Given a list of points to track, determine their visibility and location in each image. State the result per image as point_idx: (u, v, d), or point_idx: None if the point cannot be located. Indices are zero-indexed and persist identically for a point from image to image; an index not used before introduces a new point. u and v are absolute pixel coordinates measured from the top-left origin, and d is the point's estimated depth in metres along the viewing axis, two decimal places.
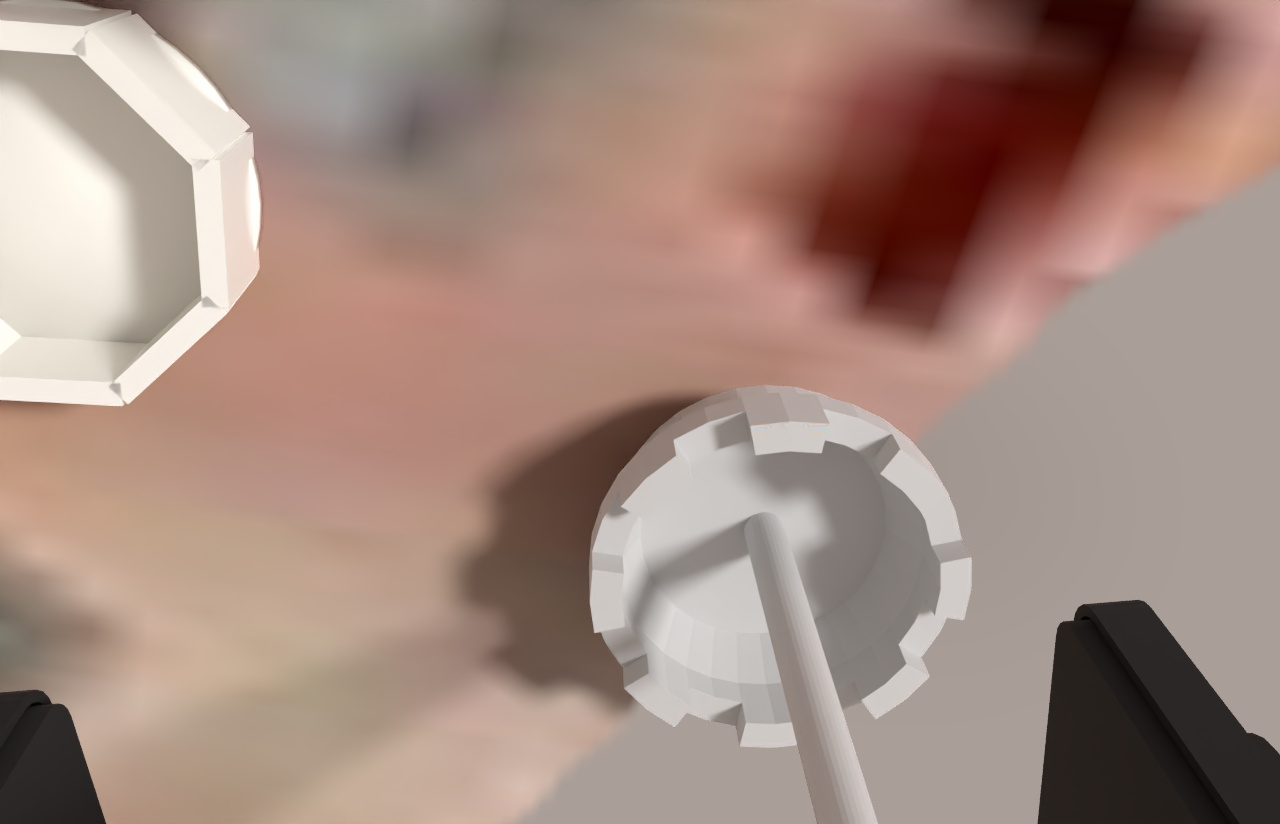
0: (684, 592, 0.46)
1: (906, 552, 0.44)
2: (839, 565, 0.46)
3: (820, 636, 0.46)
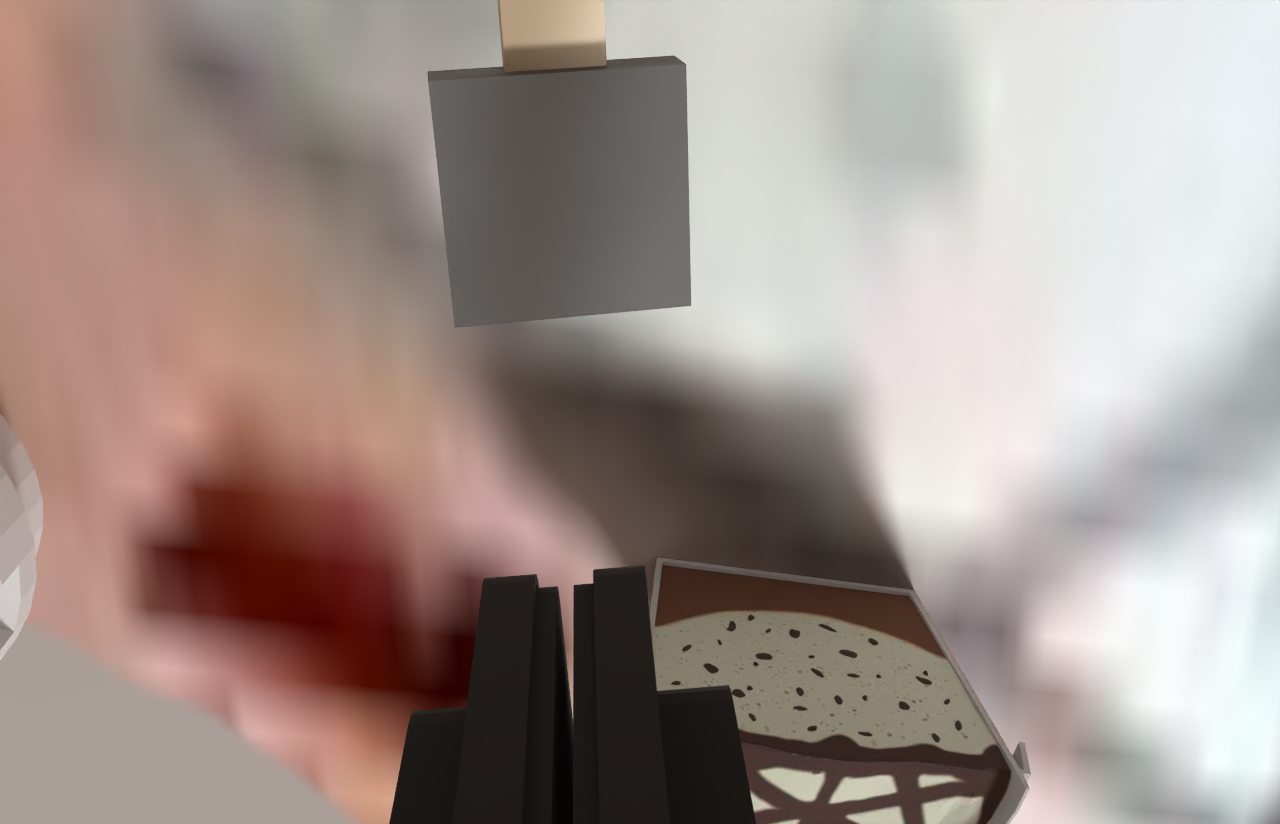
0: None
1: None
2: None
3: None
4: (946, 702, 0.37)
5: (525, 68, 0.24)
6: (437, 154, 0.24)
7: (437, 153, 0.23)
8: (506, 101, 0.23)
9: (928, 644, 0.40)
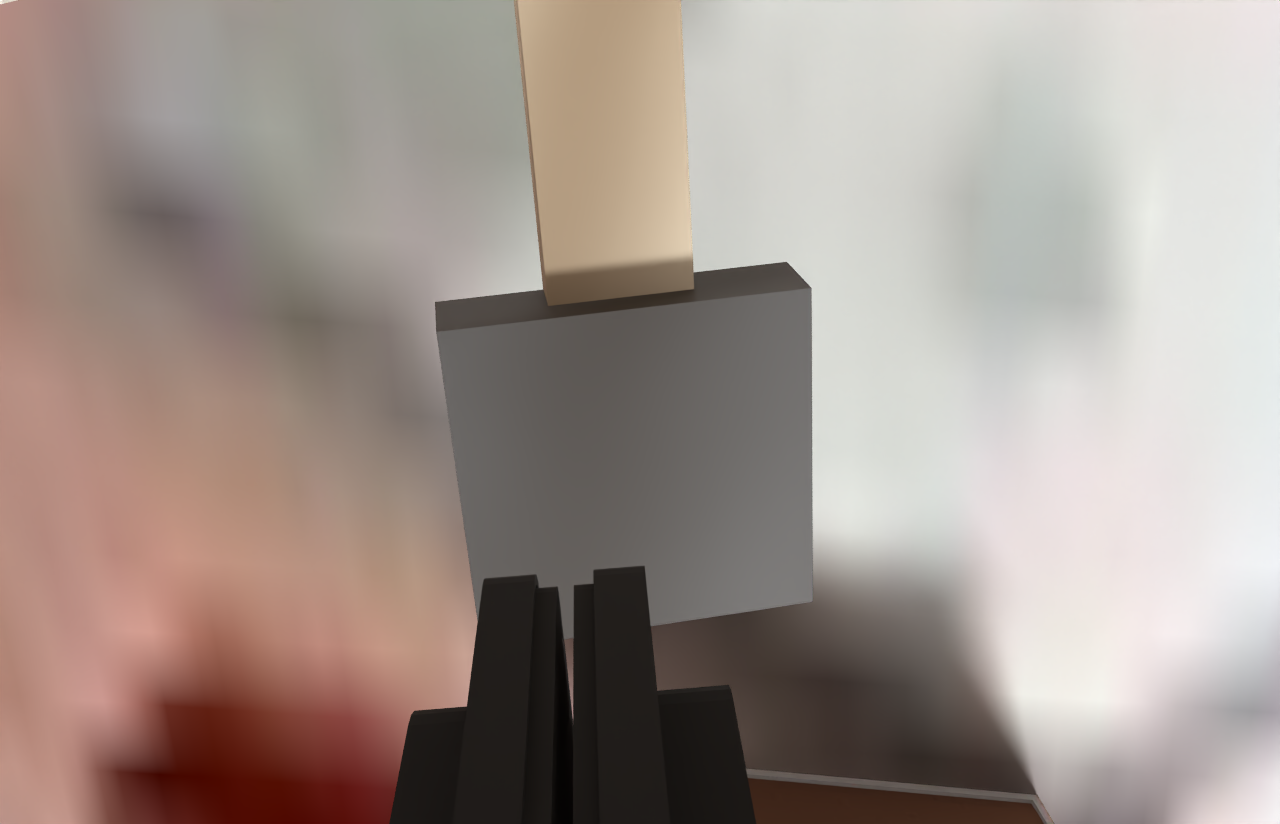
0: None
1: None
2: None
3: None
4: None
5: (577, 299, 0.16)
6: (452, 429, 0.16)
7: (452, 428, 0.16)
8: (551, 352, 0.16)
9: None
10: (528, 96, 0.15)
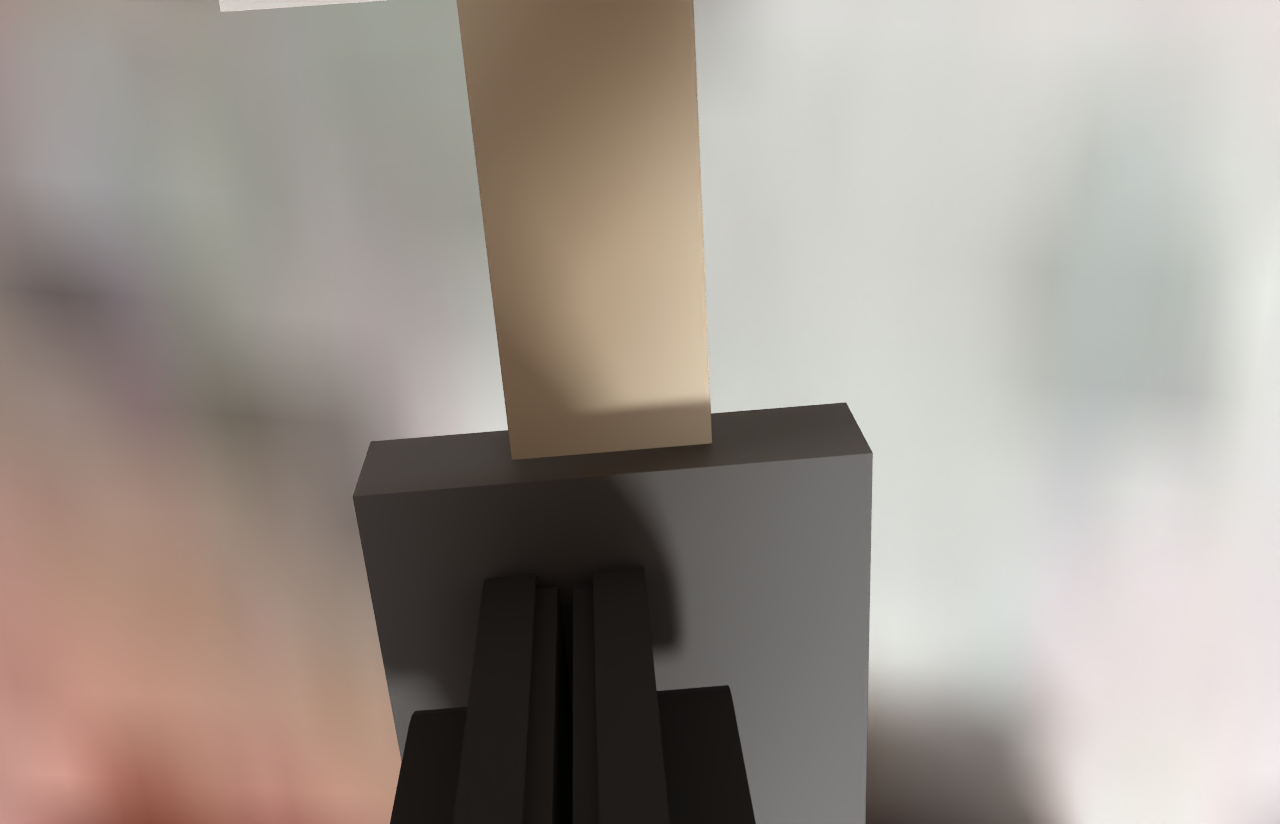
0: None
1: None
2: None
3: None
4: None
5: (551, 453, 0.12)
6: (377, 619, 0.12)
7: (377, 618, 0.12)
8: (509, 527, 0.12)
9: None
10: (480, 186, 0.11)
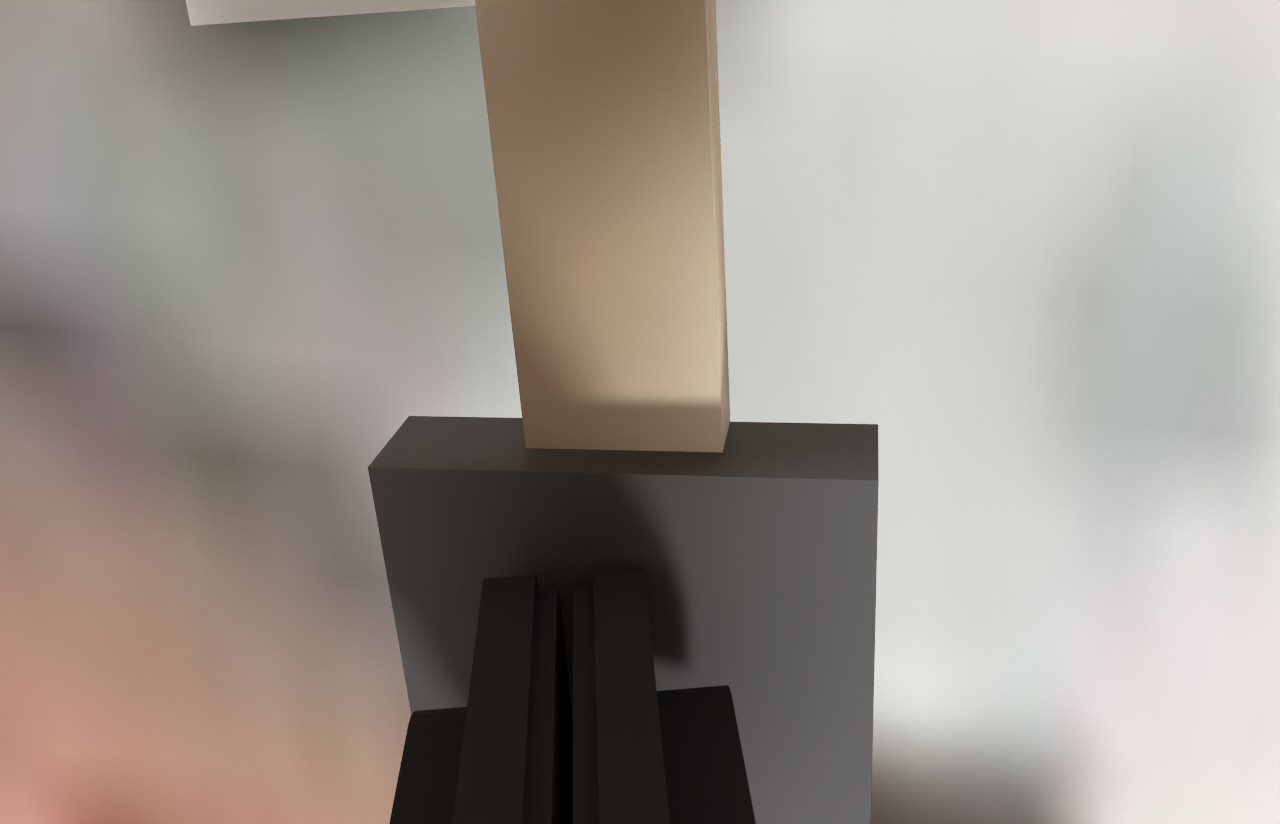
0: None
1: None
2: None
3: None
4: None
5: (563, 445, 0.12)
6: (390, 586, 0.13)
7: (389, 585, 0.13)
8: (512, 513, 0.12)
9: None
10: (495, 178, 0.11)
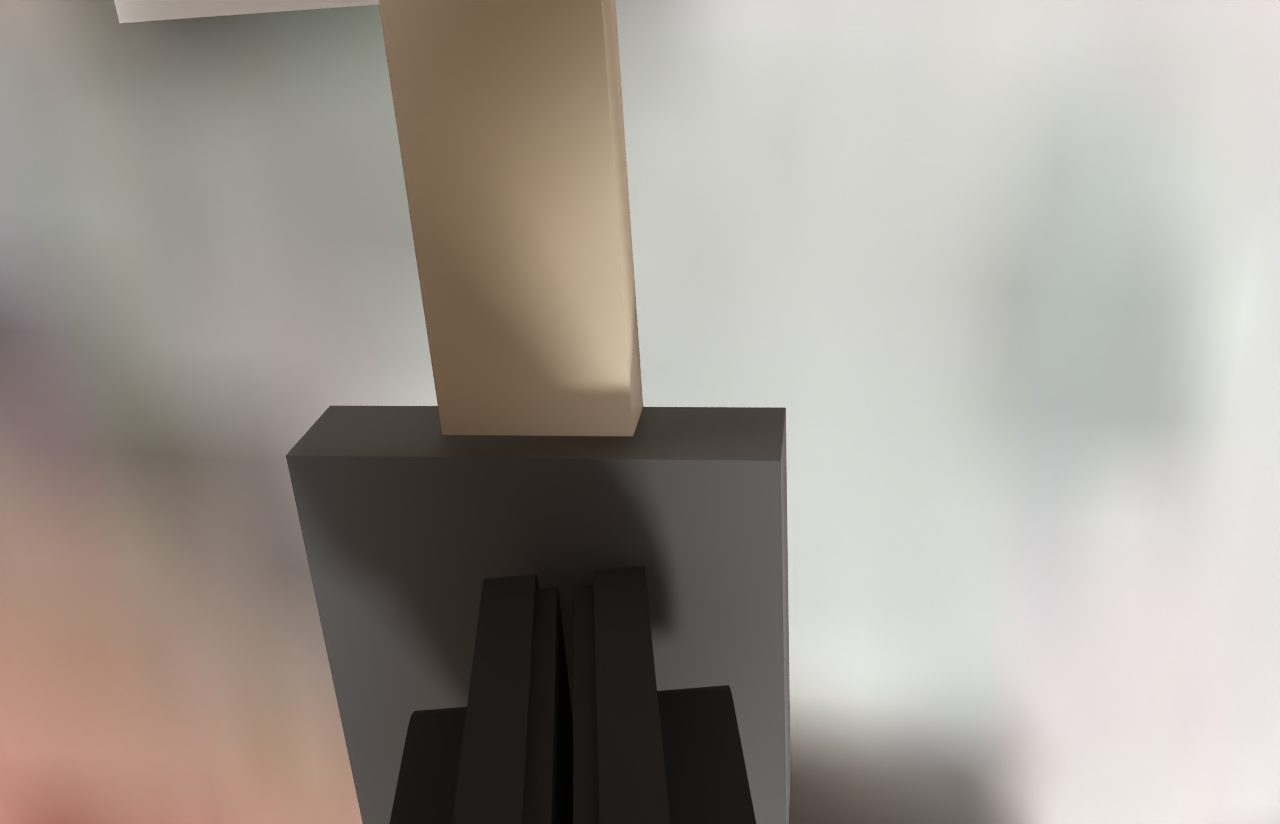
0: None
1: None
2: None
3: None
4: None
5: (478, 431, 0.12)
6: (312, 573, 0.13)
7: (310, 572, 0.13)
8: (428, 498, 0.12)
9: None
10: (403, 170, 0.11)
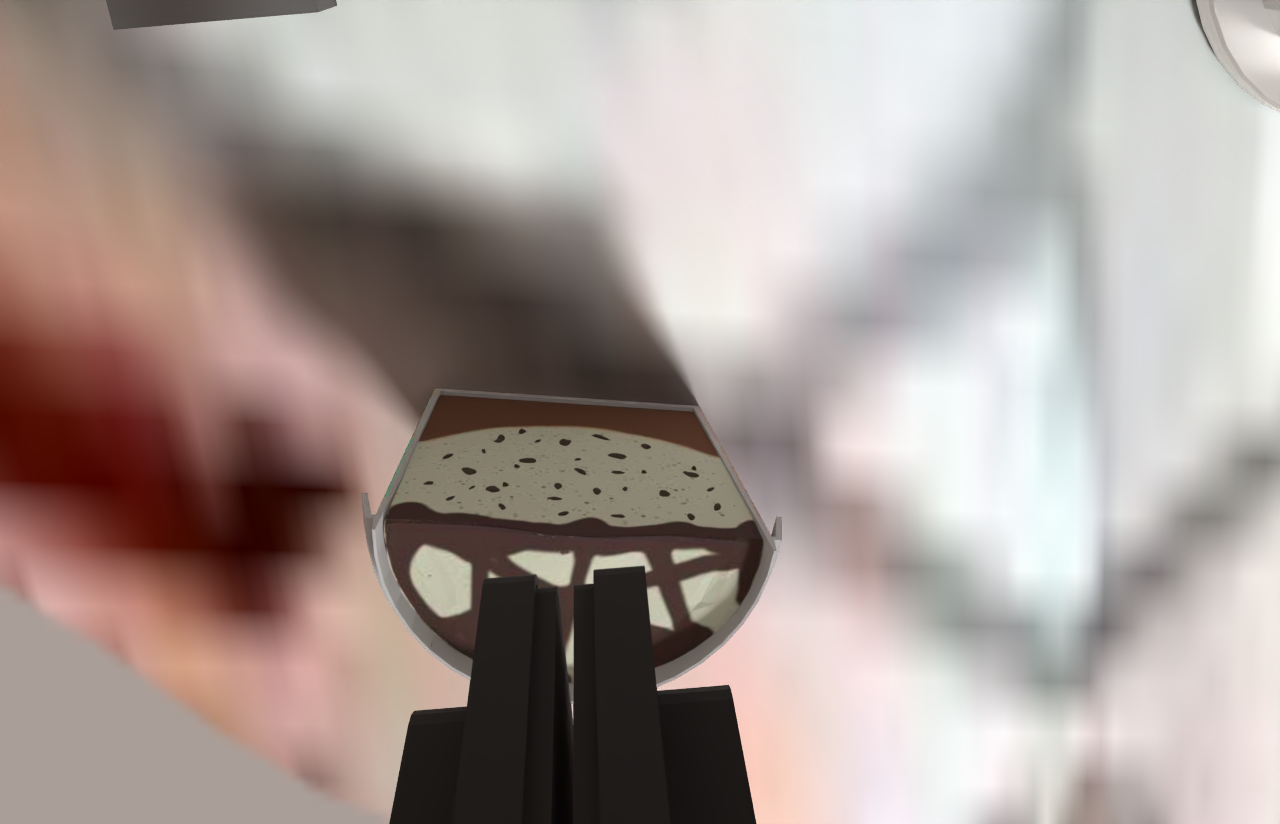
0: None
1: None
2: None
3: None
4: (709, 489, 0.37)
5: None
6: None
7: None
8: None
9: (703, 447, 0.40)
10: None
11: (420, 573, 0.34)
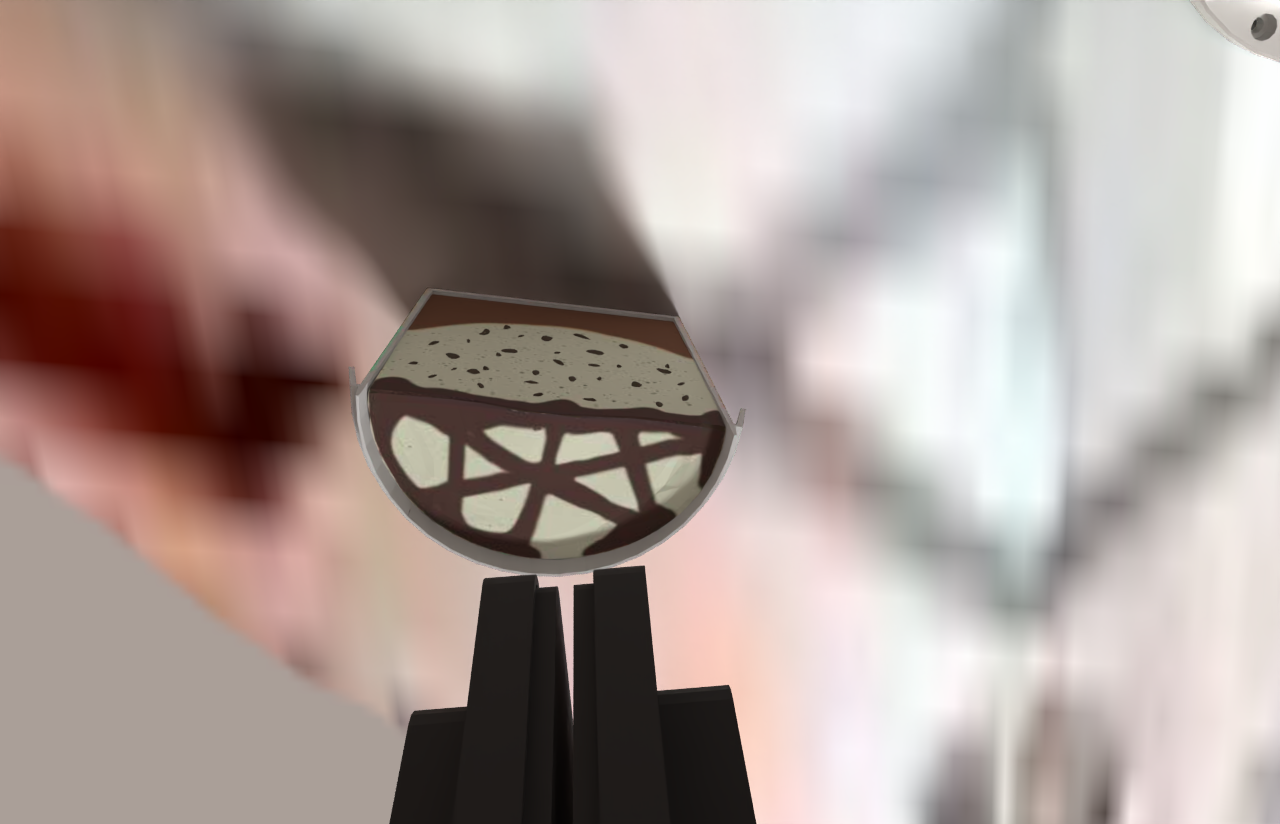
0: None
1: None
2: None
3: None
4: (680, 383, 0.39)
5: None
6: None
7: None
8: None
9: (678, 350, 0.42)
10: None
11: (401, 443, 0.37)
